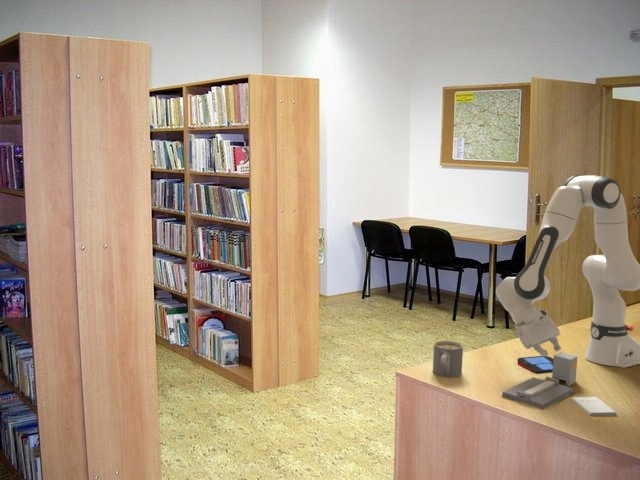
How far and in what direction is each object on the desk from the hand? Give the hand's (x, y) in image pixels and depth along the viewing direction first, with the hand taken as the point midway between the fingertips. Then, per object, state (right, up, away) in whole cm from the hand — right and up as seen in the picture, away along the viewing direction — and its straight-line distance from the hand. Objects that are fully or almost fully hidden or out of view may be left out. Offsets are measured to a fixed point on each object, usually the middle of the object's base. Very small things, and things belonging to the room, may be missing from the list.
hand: (552, 353), depth 232 cm
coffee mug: (-36, -8, +4) cm, 37 cm away
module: (+3, -9, -2) cm, 10 cm away
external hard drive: (+4, -13, -24) cm, 28 cm away
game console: (+1, -8, +13) cm, 16 cm away
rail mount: (-10, -11, -14) cm, 21 cm away
